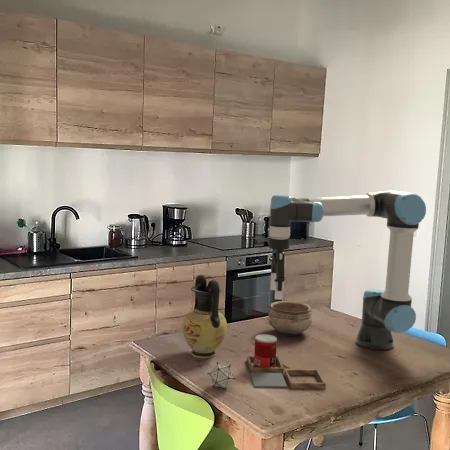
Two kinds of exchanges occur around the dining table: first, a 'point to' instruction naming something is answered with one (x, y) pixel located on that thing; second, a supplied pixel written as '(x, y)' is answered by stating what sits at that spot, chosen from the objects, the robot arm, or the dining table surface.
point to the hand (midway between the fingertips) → (276, 294)
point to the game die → (221, 376)
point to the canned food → (265, 351)
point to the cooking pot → (290, 317)
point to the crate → (265, 370)
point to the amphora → (204, 320)
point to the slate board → (268, 380)
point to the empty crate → (304, 384)
